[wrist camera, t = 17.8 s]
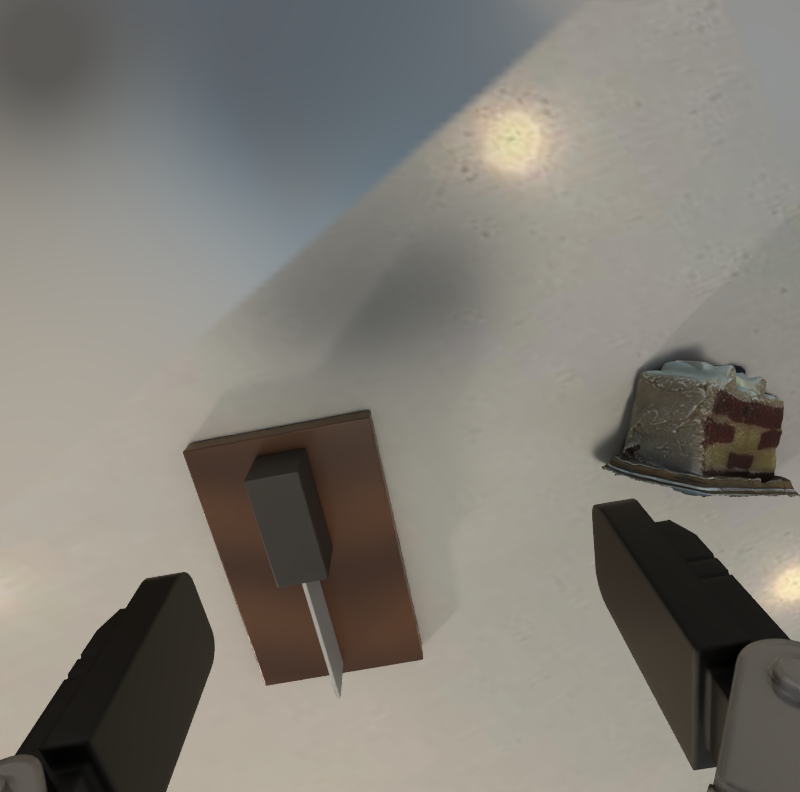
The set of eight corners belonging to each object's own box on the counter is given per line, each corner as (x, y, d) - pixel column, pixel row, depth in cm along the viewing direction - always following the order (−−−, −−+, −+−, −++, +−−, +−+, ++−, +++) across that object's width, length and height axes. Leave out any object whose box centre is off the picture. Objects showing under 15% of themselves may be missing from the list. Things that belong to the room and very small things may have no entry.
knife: (255, 456, 32) (242, 481, 29) (305, 447, 32) (297, 471, 29) (320, 666, 37) (314, 705, 34) (363, 659, 37) (361, 697, 34)
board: (189, 443, 33) (182, 451, 32) (369, 409, 32) (369, 417, 31) (268, 672, 39) (265, 686, 38) (422, 646, 38) (423, 659, 37)
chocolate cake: (823, 380, 33) (812, 357, 24) (803, 496, 33) (784, 518, 24) (654, 364, 39) (593, 341, 30) (639, 462, 39) (573, 470, 30)
